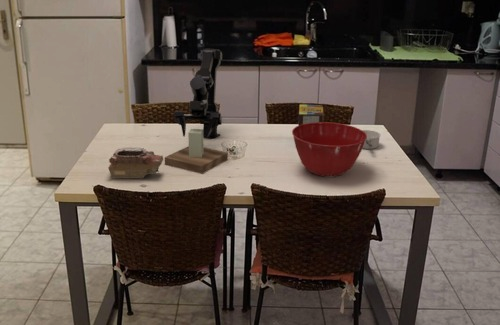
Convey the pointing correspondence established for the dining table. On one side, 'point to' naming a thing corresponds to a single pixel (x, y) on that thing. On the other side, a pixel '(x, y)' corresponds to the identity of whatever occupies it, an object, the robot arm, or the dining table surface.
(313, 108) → the protein box
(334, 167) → the mixing bowl
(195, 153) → the sage block
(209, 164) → the walnut base
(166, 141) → the dining table surface
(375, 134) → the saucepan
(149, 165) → the decorative box
